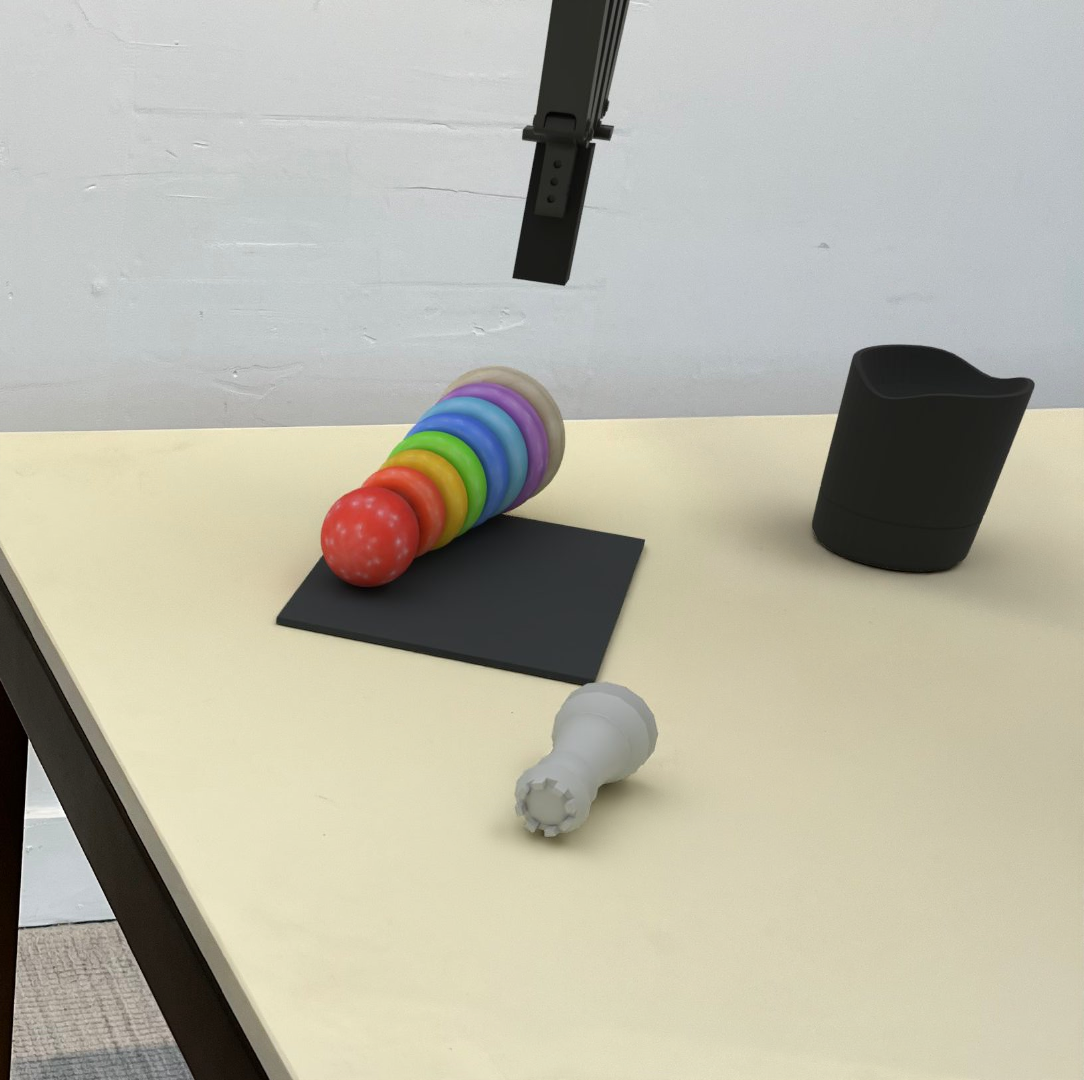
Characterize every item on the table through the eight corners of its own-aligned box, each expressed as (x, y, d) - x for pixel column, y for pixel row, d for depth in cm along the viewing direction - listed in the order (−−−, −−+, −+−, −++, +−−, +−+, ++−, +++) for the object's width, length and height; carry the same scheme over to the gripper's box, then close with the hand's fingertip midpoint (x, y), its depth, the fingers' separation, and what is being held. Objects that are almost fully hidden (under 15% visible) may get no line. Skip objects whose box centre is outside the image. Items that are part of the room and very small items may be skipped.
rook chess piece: (612, 786, 82) (546, 875, 77) (542, 716, 82) (471, 800, 77) (683, 730, 79) (619, 819, 74) (610, 657, 79) (540, 741, 74)
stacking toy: (503, 331, 102) (348, 444, 90) (599, 437, 102) (458, 564, 90) (414, 425, 108) (258, 543, 96) (505, 525, 109) (361, 655, 97)
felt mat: (643, 545, 104) (645, 539, 104) (592, 687, 89) (594, 679, 89) (369, 496, 108) (370, 490, 108) (275, 623, 93) (276, 616, 93)
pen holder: (954, 524, 109) (1012, 353, 103) (989, 585, 102) (1054, 405, 96) (792, 507, 110) (840, 337, 105) (815, 566, 103) (868, 386, 97)
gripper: (582, -283, 87) (492, 241, 101) (534, -284, 77) (442, 298, 91) (745, -273, 85) (631, 261, 99) (717, -273, 75) (594, 321, 89)
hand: (540, 278), depth 95 cm, fingers closed
